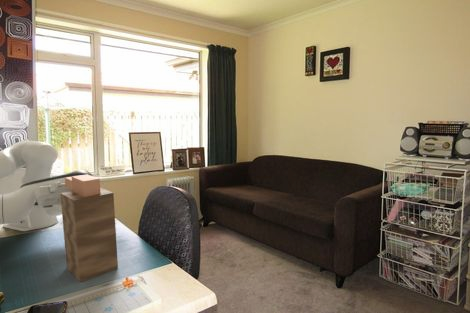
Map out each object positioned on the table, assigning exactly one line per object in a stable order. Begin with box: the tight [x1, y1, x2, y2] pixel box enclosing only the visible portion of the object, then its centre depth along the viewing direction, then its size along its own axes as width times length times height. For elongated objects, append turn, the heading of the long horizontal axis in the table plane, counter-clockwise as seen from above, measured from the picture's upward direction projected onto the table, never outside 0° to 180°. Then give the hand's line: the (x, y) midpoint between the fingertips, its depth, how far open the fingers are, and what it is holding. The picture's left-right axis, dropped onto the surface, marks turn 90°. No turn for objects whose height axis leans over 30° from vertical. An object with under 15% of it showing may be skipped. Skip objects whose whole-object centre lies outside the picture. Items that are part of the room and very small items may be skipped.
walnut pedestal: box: [60, 187, 119, 283], centre depth 102 cm, size 12×12×26 cm
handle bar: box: [65, 174, 101, 197], centre depth 103 cm, size 20×5×5 cm, turn 46°
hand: (73, 182), depth 108 cm, fingers open, 8 cm apart
